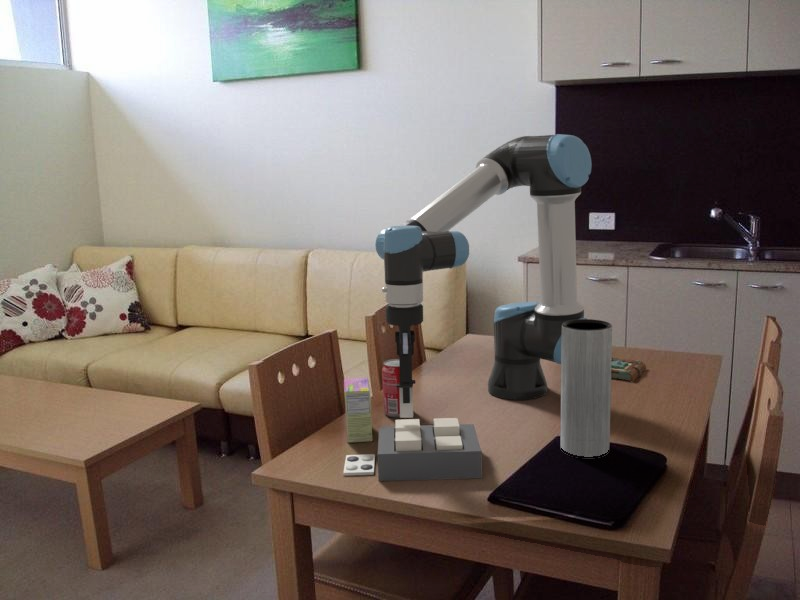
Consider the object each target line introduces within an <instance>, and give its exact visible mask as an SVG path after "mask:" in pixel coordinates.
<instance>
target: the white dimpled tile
mask: <svg viewBox="0 0 800 600" xmlns="http://www.w3.org/2000/svg"><path fill="white" fill-rule="evenodd" d="M375 461H376V453H375V454H374V453H372V454H369V453H368V454H348V455H347V454H346V455H345V461H344V467H343V472H342V473H343V476H345V477H346V476H373V475H375V464H376V463H375Z"/></svg>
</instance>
